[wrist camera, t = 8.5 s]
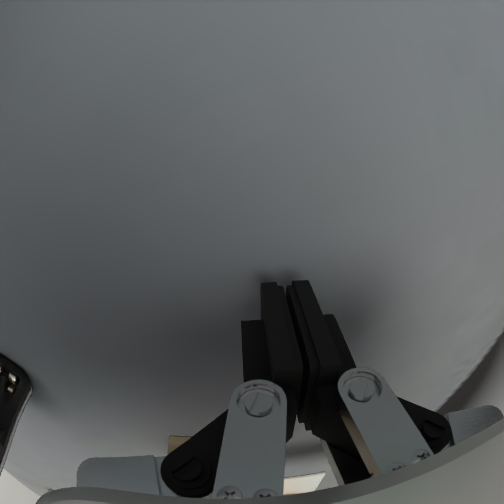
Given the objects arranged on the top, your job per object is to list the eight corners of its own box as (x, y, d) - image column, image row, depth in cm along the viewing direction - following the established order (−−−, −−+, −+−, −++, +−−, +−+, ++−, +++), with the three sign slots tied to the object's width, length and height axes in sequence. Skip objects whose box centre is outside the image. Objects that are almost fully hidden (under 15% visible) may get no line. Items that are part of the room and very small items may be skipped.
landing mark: (209, 481, 22) (209, 482, 22) (325, 471, 22) (325, 473, 22) (222, 502, 27) (222, 504, 27) (309, 496, 28) (309, 497, 27)
